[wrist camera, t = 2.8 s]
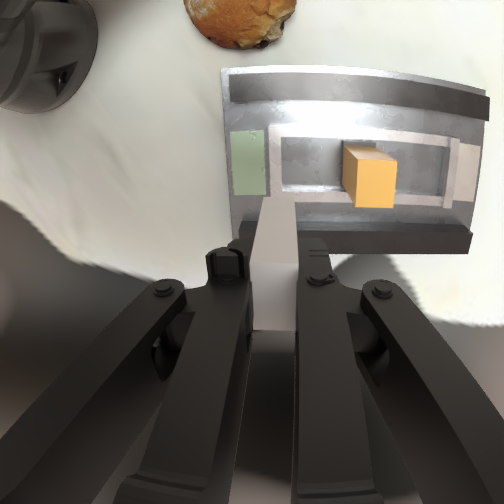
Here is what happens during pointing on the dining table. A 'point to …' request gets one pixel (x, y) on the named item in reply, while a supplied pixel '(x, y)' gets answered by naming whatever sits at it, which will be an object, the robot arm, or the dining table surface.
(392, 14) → the dining table surface
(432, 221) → the panel
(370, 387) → the robot arm
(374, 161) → the lever
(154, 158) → the dining table surface
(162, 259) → the dining table surface
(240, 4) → the bread roll
